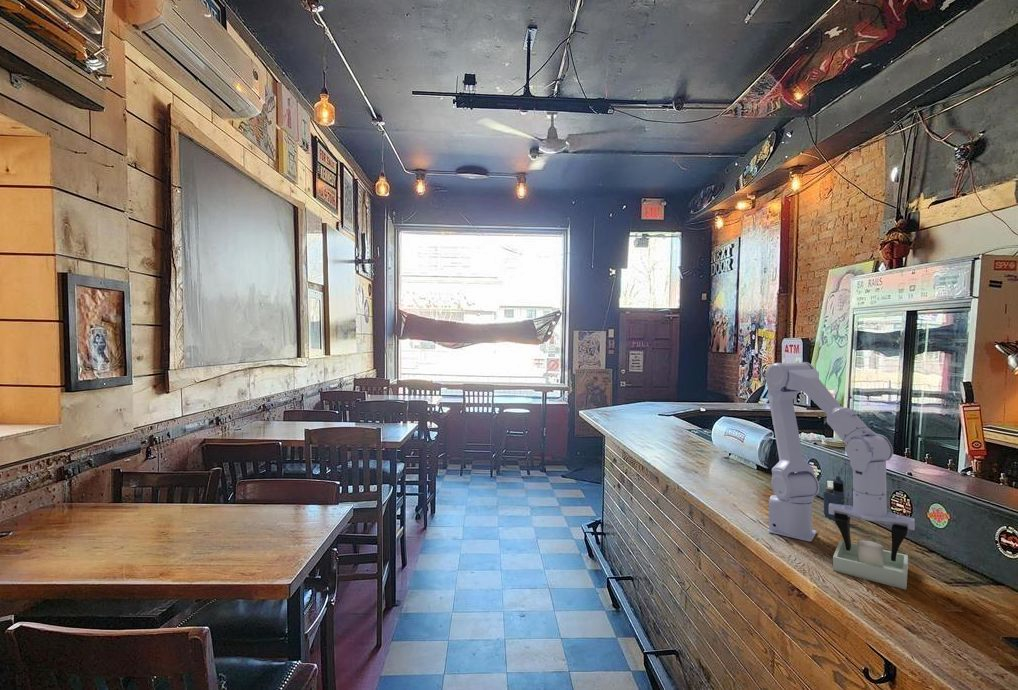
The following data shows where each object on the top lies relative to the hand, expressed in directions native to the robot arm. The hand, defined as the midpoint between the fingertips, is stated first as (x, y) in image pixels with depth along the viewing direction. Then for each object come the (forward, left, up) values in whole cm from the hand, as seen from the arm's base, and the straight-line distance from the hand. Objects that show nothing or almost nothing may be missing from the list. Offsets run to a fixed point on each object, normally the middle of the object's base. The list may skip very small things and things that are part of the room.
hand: (870, 554), depth 99 cm
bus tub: (0, 0, -3) cm, 3 cm away
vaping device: (-10, +30, -4) cm, 31 cm away
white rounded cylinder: (0, 0, -3) cm, 3 cm away
